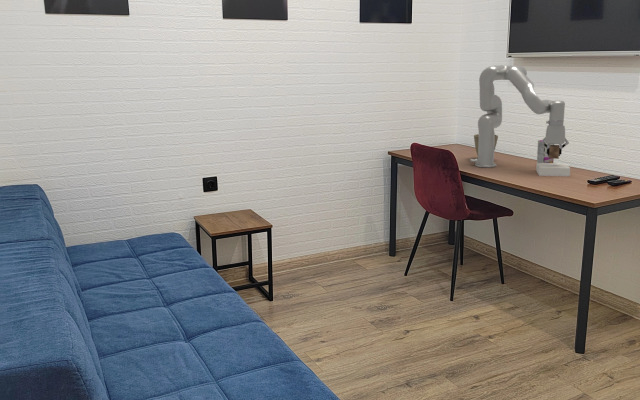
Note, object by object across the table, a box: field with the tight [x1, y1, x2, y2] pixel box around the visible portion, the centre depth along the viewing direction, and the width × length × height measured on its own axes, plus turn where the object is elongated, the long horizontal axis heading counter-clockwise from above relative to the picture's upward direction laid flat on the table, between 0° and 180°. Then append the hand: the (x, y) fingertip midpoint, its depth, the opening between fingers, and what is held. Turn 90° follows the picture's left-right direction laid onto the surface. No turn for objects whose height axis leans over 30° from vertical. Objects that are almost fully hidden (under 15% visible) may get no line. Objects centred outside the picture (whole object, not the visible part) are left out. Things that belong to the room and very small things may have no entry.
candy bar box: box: [536, 139, 555, 164], centre depth 349 cm, size 11×5×16 cm, turn 129°
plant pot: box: [473, 133, 499, 157], centre depth 375 cm, size 15×15×16 cm
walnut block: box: [549, 144, 560, 160], centre depth 329 cm, size 5×5×7 cm
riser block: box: [535, 162, 571, 177], centre depth 331 cm, size 16×14×5 cm
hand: (553, 155), depth 329 cm, fingers closed on walnut block, 5 cm apart
